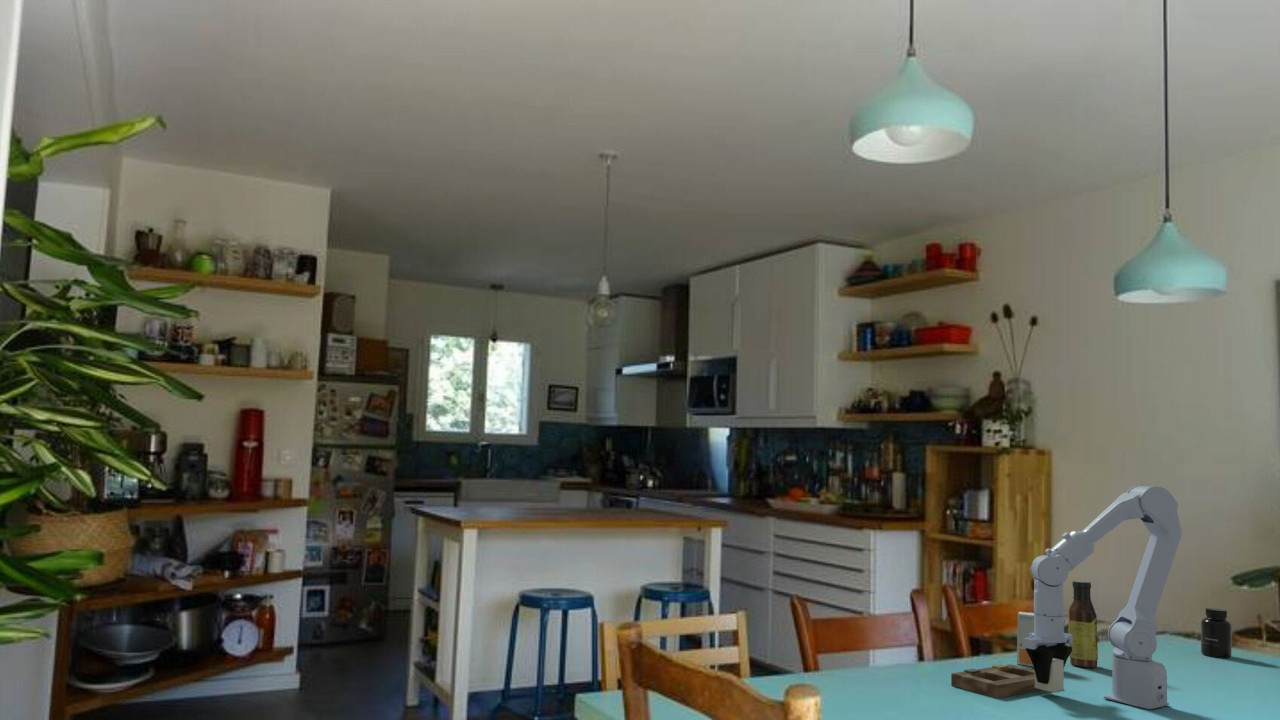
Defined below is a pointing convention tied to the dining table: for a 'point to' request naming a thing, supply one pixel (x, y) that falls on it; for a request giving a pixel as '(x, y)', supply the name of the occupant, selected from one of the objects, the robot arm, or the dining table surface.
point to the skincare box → (1023, 632)
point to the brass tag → (1000, 666)
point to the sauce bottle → (1083, 627)
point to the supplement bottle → (1216, 634)
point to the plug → (1053, 677)
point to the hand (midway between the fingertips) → (1049, 681)
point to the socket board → (997, 681)
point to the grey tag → (972, 671)
